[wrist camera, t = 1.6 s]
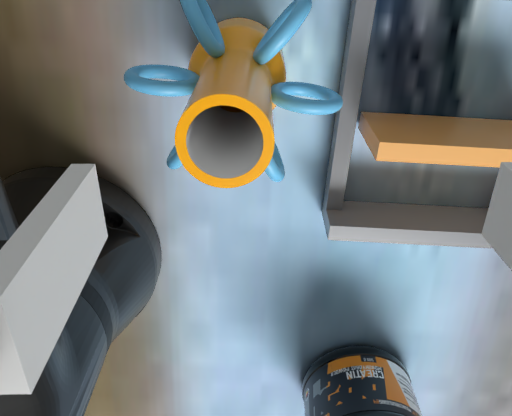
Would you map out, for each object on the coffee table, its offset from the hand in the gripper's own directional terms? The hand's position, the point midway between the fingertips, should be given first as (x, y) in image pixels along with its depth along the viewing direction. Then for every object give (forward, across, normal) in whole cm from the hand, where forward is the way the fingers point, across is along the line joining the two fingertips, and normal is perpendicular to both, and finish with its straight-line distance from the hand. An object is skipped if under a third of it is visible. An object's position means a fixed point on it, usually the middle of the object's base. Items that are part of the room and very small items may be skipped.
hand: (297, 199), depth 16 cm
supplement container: (+19, +9, -30) cm, 37 cm away
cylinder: (+19, -2, 0) cm, 19 cm away
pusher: (+19, +12, -3) cm, 23 cm away
